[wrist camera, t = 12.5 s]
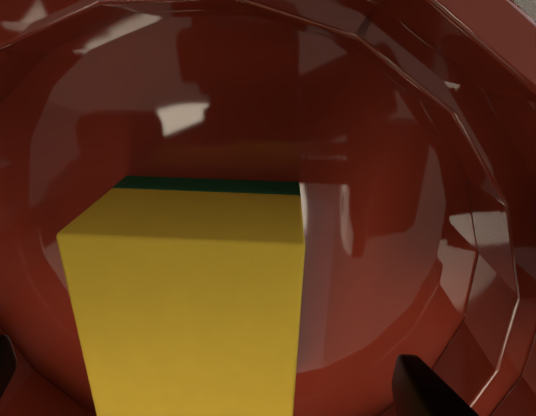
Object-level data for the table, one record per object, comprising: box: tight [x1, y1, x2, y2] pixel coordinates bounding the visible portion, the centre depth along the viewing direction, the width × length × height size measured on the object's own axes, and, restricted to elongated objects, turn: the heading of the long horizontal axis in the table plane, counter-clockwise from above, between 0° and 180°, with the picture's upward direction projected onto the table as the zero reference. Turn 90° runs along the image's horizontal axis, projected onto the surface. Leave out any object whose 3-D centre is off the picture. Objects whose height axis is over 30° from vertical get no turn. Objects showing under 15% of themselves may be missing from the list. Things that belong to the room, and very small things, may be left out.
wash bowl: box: [0, 0, 536, 416], centre depth 10 cm, size 17×17×4 cm
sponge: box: [56, 176, 305, 416], centre depth 10 cm, size 7×5×3 cm, turn 179°
